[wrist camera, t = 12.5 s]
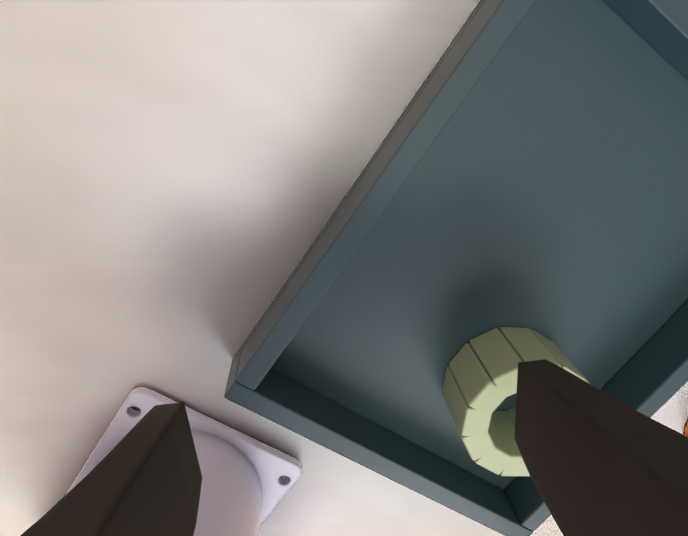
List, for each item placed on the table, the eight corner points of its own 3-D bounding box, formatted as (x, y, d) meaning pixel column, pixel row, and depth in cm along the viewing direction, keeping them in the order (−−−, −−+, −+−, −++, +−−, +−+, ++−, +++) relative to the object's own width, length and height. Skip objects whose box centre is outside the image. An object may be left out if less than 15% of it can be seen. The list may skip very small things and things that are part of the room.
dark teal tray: (500, 498, 25) (521, 544, 22) (231, 360, 21) (223, 397, 18) (814, 176, 20) (883, 191, 17) (541, -88, 16) (582, -113, 13)
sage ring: (507, 446, 23) (534, 495, 20) (419, 396, 21) (435, 442, 19) (585, 363, 21) (624, 404, 19) (496, 305, 20) (525, 341, 17)
